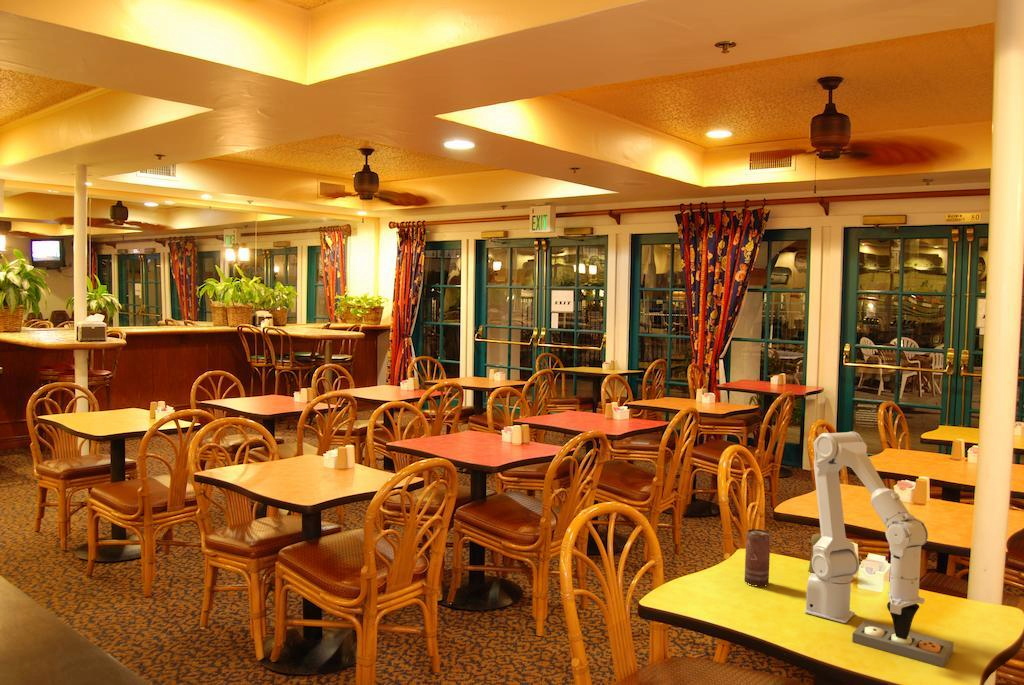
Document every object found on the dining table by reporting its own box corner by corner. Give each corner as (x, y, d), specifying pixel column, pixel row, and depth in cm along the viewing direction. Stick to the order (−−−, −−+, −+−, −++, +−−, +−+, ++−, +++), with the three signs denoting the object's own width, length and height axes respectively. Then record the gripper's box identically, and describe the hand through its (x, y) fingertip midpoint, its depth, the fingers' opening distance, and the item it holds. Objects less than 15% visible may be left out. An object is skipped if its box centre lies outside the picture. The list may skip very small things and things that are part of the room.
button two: (888, 647, 169) (889, 636, 169) (893, 641, 172) (893, 631, 172) (908, 652, 166) (909, 642, 166) (913, 646, 169) (913, 636, 169)
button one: (862, 639, 172) (862, 629, 172) (867, 634, 175) (867, 624, 175) (881, 645, 170) (881, 634, 169) (886, 639, 173) (886, 629, 173)
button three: (916, 654, 165) (917, 644, 165) (920, 648, 168) (921, 638, 168) (937, 660, 163) (938, 649, 163) (941, 654, 166) (942, 643, 166)
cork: (833, 578, 212) (835, 538, 212) (810, 576, 214) (811, 536, 213) (829, 571, 218) (830, 532, 218) (806, 569, 219) (808, 530, 219)
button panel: (852, 641, 172) (852, 633, 171) (864, 627, 179) (865, 619, 179) (943, 667, 160) (944, 657, 160) (953, 651, 168) (953, 642, 168)
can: (766, 589, 202) (768, 536, 202) (741, 584, 206) (743, 532, 205) (771, 582, 208) (774, 531, 207) (748, 577, 211) (750, 527, 210)
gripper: (917, 588, 160) (914, 653, 161) (932, 571, 171) (929, 631, 172) (880, 580, 164) (877, 643, 165) (897, 563, 176) (894, 622, 176)
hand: (901, 636), depth 169 cm, fingers closed, pressing on button two
